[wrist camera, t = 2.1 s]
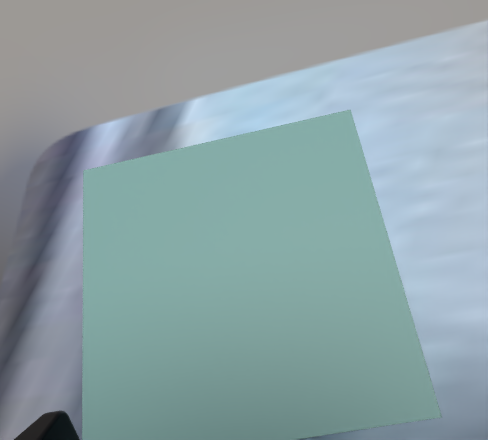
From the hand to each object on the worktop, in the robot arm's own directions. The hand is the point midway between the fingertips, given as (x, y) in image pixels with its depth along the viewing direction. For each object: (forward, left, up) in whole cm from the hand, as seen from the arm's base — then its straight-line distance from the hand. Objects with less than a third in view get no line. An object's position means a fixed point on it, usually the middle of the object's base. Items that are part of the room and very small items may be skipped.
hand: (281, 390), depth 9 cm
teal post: (+1, 0, -9) cm, 9 cm away
